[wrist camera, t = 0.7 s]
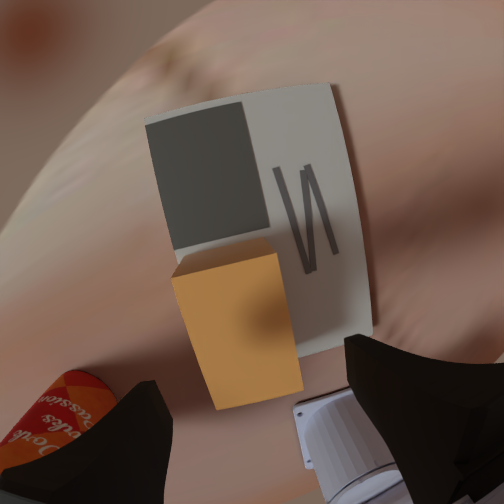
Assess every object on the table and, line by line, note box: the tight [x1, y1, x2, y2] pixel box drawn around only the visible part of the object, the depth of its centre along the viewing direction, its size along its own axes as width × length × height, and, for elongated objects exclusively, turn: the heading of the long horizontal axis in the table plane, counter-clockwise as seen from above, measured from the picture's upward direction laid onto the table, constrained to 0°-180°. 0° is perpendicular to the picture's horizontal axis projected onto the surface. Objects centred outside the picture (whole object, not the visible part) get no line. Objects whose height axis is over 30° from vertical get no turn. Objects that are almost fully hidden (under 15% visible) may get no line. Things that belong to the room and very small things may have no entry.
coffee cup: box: [0, 370, 117, 474], centre depth 14 cm, size 8×8×15 cm
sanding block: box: [171, 237, 304, 410], centre depth 17 cm, size 8×5×5 cm, turn 13°
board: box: [144, 82, 373, 358], centre depth 19 cm, size 18×12×1 cm, turn 13°
